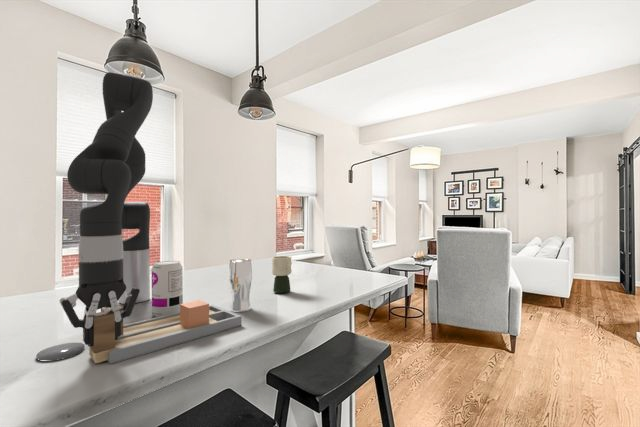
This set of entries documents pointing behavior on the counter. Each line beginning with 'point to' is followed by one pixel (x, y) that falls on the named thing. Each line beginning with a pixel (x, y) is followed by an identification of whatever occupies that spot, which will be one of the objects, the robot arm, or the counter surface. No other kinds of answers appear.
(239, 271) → the beer glass
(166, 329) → the oak strip
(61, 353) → the slate coaster
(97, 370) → the counter surface
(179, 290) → the supplement can
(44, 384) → the counter surface
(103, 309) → the oak strip
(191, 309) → the rust cube
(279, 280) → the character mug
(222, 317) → the lane frame
